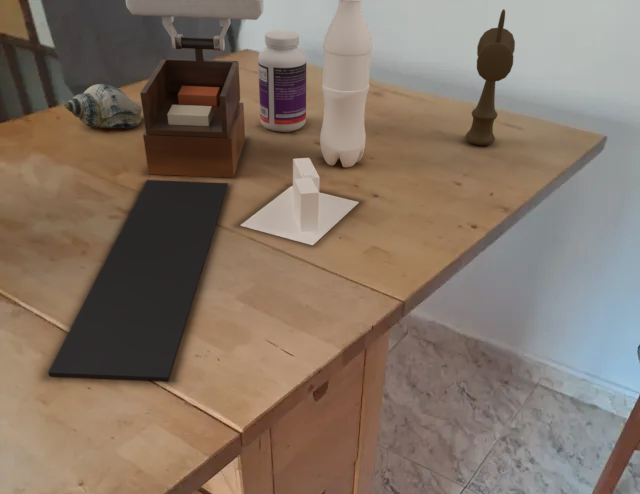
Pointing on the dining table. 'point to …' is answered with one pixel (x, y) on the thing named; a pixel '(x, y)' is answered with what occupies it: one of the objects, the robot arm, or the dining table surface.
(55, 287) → the dining table surface
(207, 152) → the stand
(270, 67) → the pill bottle
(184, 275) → the mat
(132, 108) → the seashell
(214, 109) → the scoop
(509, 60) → the kendama
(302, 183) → the napkin holder
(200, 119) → the block
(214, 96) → the block
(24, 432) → the dining table surface
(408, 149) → the dining table surface
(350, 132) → the water bottle
